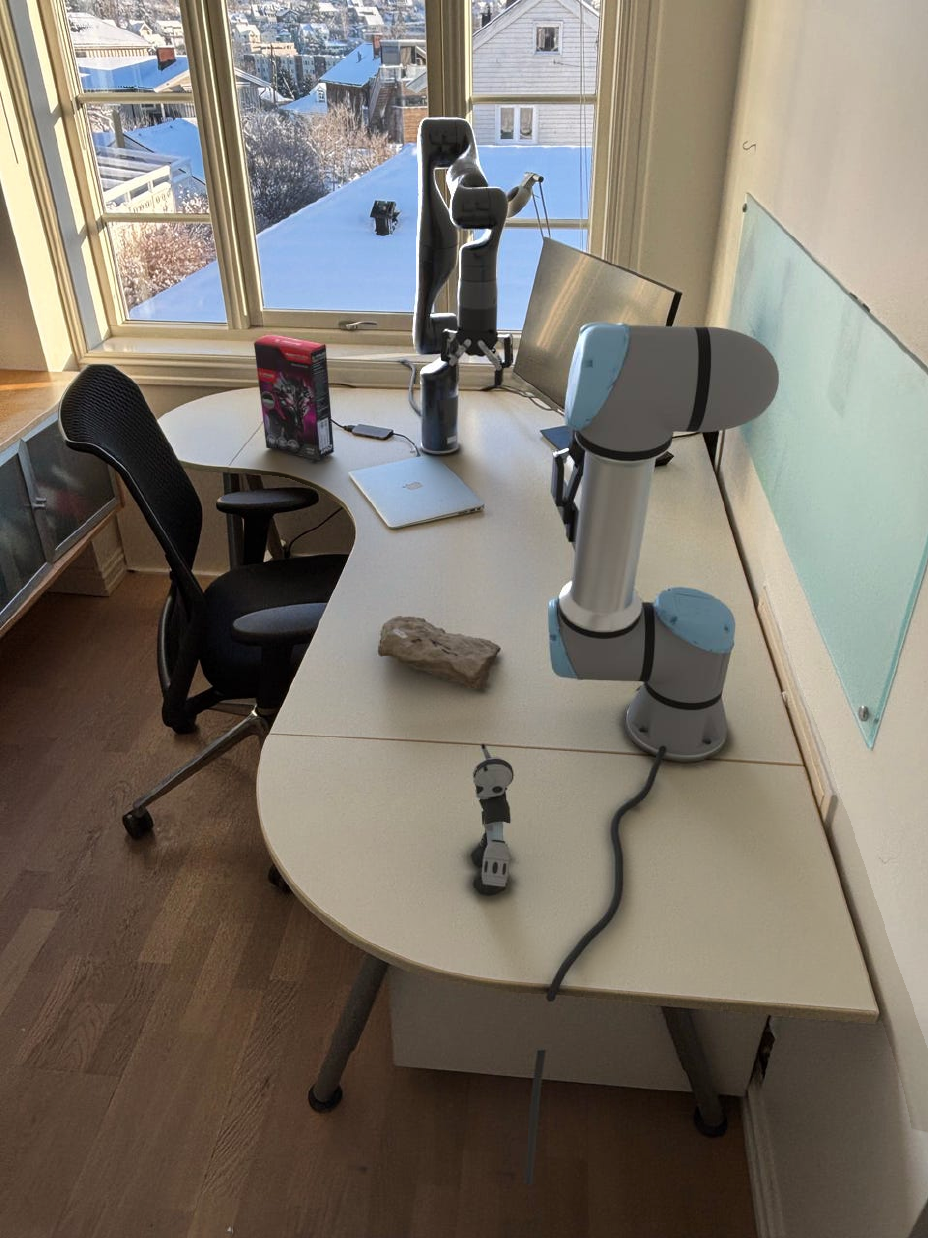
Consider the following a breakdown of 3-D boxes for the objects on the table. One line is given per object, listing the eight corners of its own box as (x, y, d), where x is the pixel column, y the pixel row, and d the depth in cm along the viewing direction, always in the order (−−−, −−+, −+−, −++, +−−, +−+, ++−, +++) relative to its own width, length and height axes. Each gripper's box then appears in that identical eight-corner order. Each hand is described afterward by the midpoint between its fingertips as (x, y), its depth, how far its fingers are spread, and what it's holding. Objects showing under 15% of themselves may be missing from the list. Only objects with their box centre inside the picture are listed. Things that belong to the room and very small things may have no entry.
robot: (515, 932, 112) (522, 815, 100) (475, 934, 111) (478, 816, 100) (502, 814, 128) (507, 701, 117) (467, 815, 128) (468, 702, 117)
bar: (599, 551, 167) (604, 509, 163) (575, 552, 167) (578, 510, 162) (572, 491, 188) (575, 452, 183) (550, 492, 187) (553, 453, 183)
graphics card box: (263, 448, 231) (250, 340, 216) (280, 439, 236) (269, 332, 221) (320, 462, 224) (310, 351, 209) (336, 452, 230) (328, 343, 214)
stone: (354, 663, 151) (360, 631, 149) (385, 632, 165) (392, 602, 162) (474, 706, 148) (483, 673, 145) (496, 671, 161) (504, 640, 159)
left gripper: (518, 299, 177) (515, 382, 186) (447, 293, 180) (447, 375, 189) (509, 310, 171) (506, 394, 180) (436, 304, 174) (436, 387, 183)
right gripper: (639, 407, 161) (625, 526, 174) (539, 410, 159) (532, 530, 172) (651, 423, 155) (635, 545, 167) (547, 427, 153) (539, 549, 166)
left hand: (476, 384), depth 184 cm, fingers open, 8 cm apart
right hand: (583, 537), depth 170 cm, fingers closed on bar, 5 cm apart
